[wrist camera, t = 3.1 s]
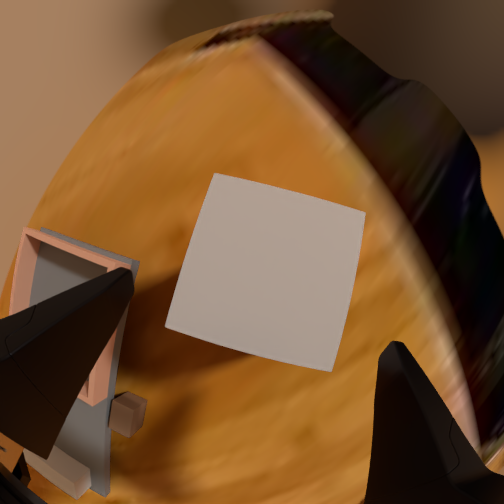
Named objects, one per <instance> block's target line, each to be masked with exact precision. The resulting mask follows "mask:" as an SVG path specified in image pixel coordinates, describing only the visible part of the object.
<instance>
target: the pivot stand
mask: <svg viewBox="0 0 504 504" xmlns="http://www.w3.org/2000/svg"><path fill="white" fill-rule="evenodd" d="M146 405H147V400H146V399H144V398H141V397H139V396H137V395H135V394H132V393H130V392H126V393H124V394H123V395H121V396H119V397H117V398H115V399H113V401H112V407H111V414H110V421H109V428H110V429H112V430H114V431H116V432H118V433H120V434H121V435H124V436H126V437H128V438H130V437H131V436H132V435H133V434H134V433H135V432H137V431H138V430H139V429H140V428H141V427H142V425H143V420H144V415H145V410H146Z"/></svg>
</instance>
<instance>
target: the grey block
mask: <svg viewBox="0 0 504 504" xmlns="http://www.w3.org/2000/svg"><path fill="white" fill-rule="evenodd" d="M364 221H365V212H362V211H359V210H356V209H353V208H349V207H346V206H343V205H340V204H336V203H333V202H330V201H326V200H323V199H319V198H316V197H312V196H308V195H305V194H301V193H297V192H294V191H290V190H286V189H282V188H278V187H274V186H270V185H266V184H262V183H258V182H253V181H249V180H245V179H240V178H236V177H231V176H227V175H222V174H217V173H214V176H213V178H212V181H211V184H210V186H209V189H208V192H207V194H206V197H205V200H204V203H203V205H202V208H201V211H200V214H199V217H198V220H197V223H196V226H195V229H194V232H193V234H192V237H191V241H190V244H189V247H188V250H187V253H186V256H185V259H184V262H183V265H182V269H181V272H180V275H179V278H178V282H177V285H176V288H175V292H174V295H173V299H172V302H171V306H170V309H169V313H168V316H167V320H166V324H165V327H166V328H169V329H172V330H175V331H178V332H180V333H183V334H186V335H189V336H192V337H195V338H198V339H202V340H205V341H208V342H211V343H214V344H218V345H221V346H224V347H228V348H231V349H235V350H238V351H242V352H245V353H249V354H253V355H257V356H260V357H264V358H268V359H272V360H277V361H281V362H285V363H290V364H294V365H299V366H303V367H308V368H313V369H318V370H323V371H329V372H332V369H333V365H334V362H335V358H336V355H337V351H338V348H339V344H340V341H341V337H342V333H343V329H344V325H345V321H346V317H347V313H348V308H349V304H350V300H351V295H352V290H353V286H354V281H355V276H356V270H357V265H358V259H359V254H360V248H361V241H362V235H363V228H364Z"/></svg>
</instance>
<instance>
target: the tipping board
mask: <svg viewBox="0 0 504 504" xmlns="http://www.w3.org/2000/svg"><path fill="white" fill-rule="evenodd" d="M139 264H140V261H137V260H134V259H131V258H128V257H125V256H122V255H119V254H116V253H113V252H110V251H107V250H104V249H101V248H98V247H96V246H93V245H90V244H87V243H84V242H82V241H79V240H76V239H73V238H71V237H68V236H65V235H62V234H60V233H57V232H54V231H52V230H49V229H46V228H42V227H41V230H40V231H38V230H34V229H31V228H27V227H24V229H23V233H22V237H21V241H20V245H19V250H18V255H17V260H16V265H15V271H14V277H13V283H12V291H11V299H10V310H9V316H10V315H13V314H15V313H17V312H20V311H22V310H24V309H26V308H29V307H31V306H33V305H35V304H36V305H37V303H39V302H41V301H44V300H46V299H48V298H50V297H52V296H55V295H57V294H59V293H61V292H63V291H66V290H68V289H70V288H72V287H75V286H77V285H79V284H81V283H84V282H86V281H88V280H91V279H93V278H95V277H98V276H100V275H102V274H105V273H107V272H109V271H112V270H114V269H116V268H119V267H124V268H127V269H130V270H131V271H132V273H133V281H134V283H135V279H136V275H137V271H138V267H139ZM129 304H130V302H129ZM129 304H128V306H127V308H126V310H125V312H124V314H123V316H122V318H121V320H120V322H119V324H118V326H117V328H116V330H115V332H114V333H113V335H112V337H111V338H110V340H109V342H108V343H107V345H106V347H105V348H104V350H103V352H102V353H101V355H100V357H99V359H98V360H97V362H96V364H95V366H94V367H93V369H92V371H91V373H90V374H89V376H88V378H87V380H86V382H85V384H84V385H83V387H82V389H81V391H80V393H79V395H78V397H77V399H76V400H75V402H74V404H73V406H72V408H71V410H70V412H69V414H68V416H67V418H66V421H65V423H64V425H63V427H62V429H61V431H60V433H59V435H58V437H57V439H56V442H55V444H54V446H53V448H52V451H51V453H50V455H49V457H48V459H47V460H45V459H43V458H41V457H39V456H38V455H36V454H34V453H32V452H30V451H29V450H27V449H25V448H24V450H23V453H24V457H25V460H26V462H27V463H28V464H29V465H30V466H32V467H33V468H34V469H35V470H36V471H38V472H39V473H40V474H41V475H43V476H44V477H45V478H46V479H48V480H49V481H50V482H52V483H53V484H54V485H56V486H57V487H58V488H60V489H61V490H63V491H64V492H66V493H67V494H69V495H70V496H72V497H73V498H75V499H76V500H78V499H79V498H80V497H81V496H82V495H83V494H84V493H85V492H86V491H87V490H88V489H89V488H90V489H91V490H93V491H95V492H96V493H98V494H100V495H102V496H104V497H105V498H106V496H107V495H108V494H109V493H110V443H111V429H110V428H109V421H110V414H111V407H112V401H113V399H114V393H115V384H116V377H117V370H118V363H119V356H120V350H121V345H122V339H123V333H124V328H125V323H126V318H127V313H128V309H129Z"/></svg>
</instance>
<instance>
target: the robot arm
mask: <svg viewBox="0 0 504 504" xmlns="http://www.w3.org/2000/svg"><path fill="white" fill-rule="evenodd" d="M133 293H134V281H133V273H132V271H131V270H130V269H127V268H124V267H119V268H116V269H114V270H112V271H109V272H107V273H105V274H102V275H100V276H98V277H95V278H93V279H91V280H88V281H86V282H84V283H81V284H79V285H77V286H75V287H72V288H70V289H68V290H66V291H63V292H61V293H59V294H57V295H55V296H52V297H50V298H48V299H46V300H44V301H41V302H39V303H37V305H36V304H35V305H33V306H31V307H29V308H26V309H24V310H22V311H20V312H17V313H15V314H13V315H10V316H8V317H5V318H2V319H0V504H47V503H46V502H45V501H43V500H42V499H41V498H40V497H38V496H37V495H36V494H35V493H33V492H32V491H31V490H30V489H29V488H27V486H28V484H29V482H30V480H31V478H30V474H29V471H28V468H27V464H26V460H25V457H24V453H23V450H24V448H25V449H27V450H29V451H30V452H32V453H34V454H36V455H38V456H39V457H41V458H43V459H45V460H47V459H48V457H49V455H50V453H51V451H52V448H53V446H54V444H55V442H56V439H57V437H58V435H59V433H60V431H61V429H62V427H63V425H64V423H65V421H66V418H67V416H68V414H69V412H70V410H71V408H72V406H73V404H74V402H75V400H76V399H77V397H78V395H79V393H80V391H81V389H82V387H83V385H84V384H85V382H86V380H87V378H88V376H89V374H90V373H91V371H92V369H93V367H94V366H95V364H96V362H97V360H98V359H99V357H100V355H101V353H102V352H103V350H104V348H105V347H106V345H107V343H108V342H109V340H110V338H111V337H112V335H113V333H114V332H115V330H116V328H117V326H118V324H119V322H120V320H121V318H122V316H123V314H124V312H125V310H126V308H127V306H128V304H129V302H130V300H131V298H132V296H133ZM364 504H504V476H503V475H500V474H497V473H494V472H492V471H491V470H489V469H488V468H487V467H486V466H485V465H484V463H483V462H482V460H481V459H480V457H479V456H478V454H477V453H476V451H475V450H474V449H473V447H472V446H471V444H470V443H469V441H468V440H467V438H466V437H465V435H464V434H463V432H462V430H461V429H460V427H459V426H458V424H457V422H456V421H455V419H454V418H453V417H452V414H451V413H450V411H449V409H448V408H447V406H446V405H445V403H444V402H443V400H442V398H441V397H440V395H439V394H438V392H437V391H436V389H435V388H434V386H433V385H432V383H431V382H430V380H429V379H428V377H427V376H426V374H425V373H424V371H423V370H422V368H421V367H420V366H419V364H418V363H417V361H416V360H415V358H414V357H413V356H412V354H411V353H410V351H409V350H408V349H407V347H406V346H405V344H404V343H403V342H399V341H392V342H390V343H389V345H388V346H387V347H386V348H385V350H384V351H383V352H382V353H381V355H380V357H379V361H378V371H377V381H376V389H375V399H374V421H373V437H372V449H371V459H370V468H369V476H368V483H367V489H366V495H365V501H364Z"/></svg>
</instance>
